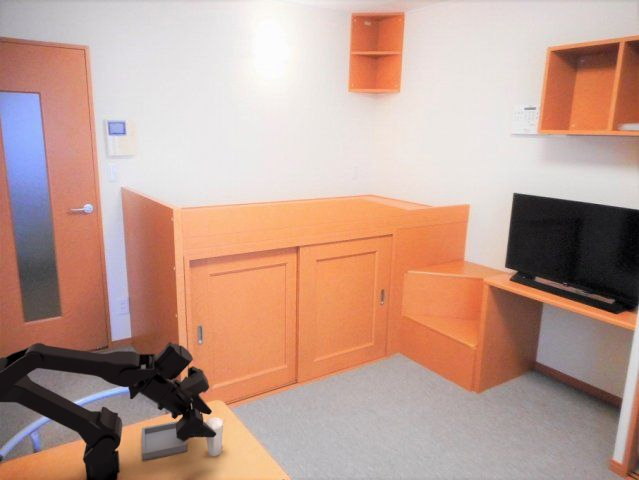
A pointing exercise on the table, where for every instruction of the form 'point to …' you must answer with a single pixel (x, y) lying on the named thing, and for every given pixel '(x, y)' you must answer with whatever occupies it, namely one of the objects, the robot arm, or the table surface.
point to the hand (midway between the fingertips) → (212, 423)
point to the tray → (161, 441)
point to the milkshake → (215, 442)
